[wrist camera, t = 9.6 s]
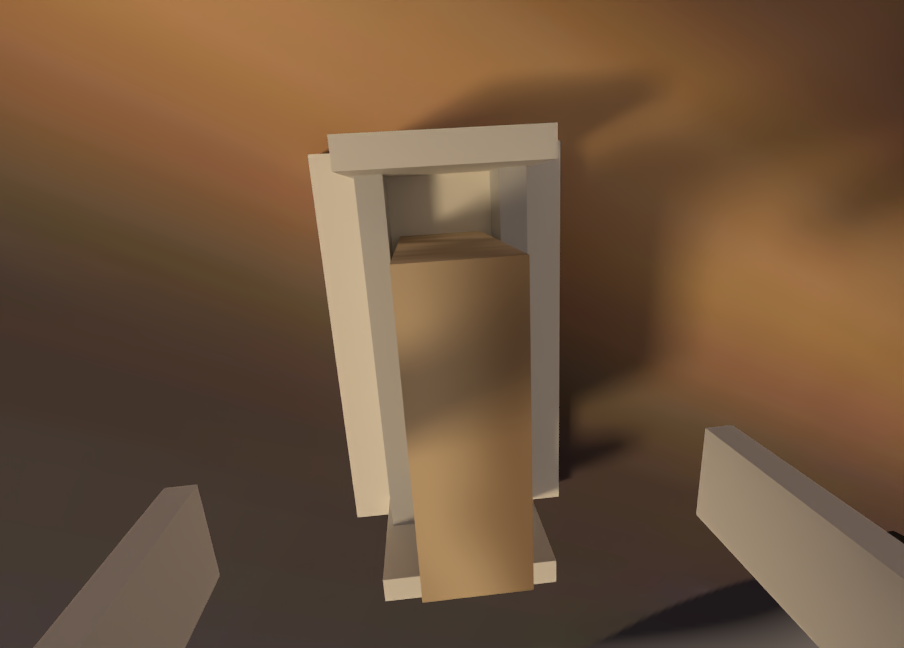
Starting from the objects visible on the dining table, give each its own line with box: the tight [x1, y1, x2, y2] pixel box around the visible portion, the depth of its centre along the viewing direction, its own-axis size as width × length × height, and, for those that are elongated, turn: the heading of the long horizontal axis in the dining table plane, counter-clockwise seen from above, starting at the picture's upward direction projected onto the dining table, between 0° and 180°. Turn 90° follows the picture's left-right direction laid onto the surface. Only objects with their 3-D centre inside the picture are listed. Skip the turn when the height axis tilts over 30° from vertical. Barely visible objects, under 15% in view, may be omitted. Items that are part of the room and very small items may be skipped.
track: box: [308, 122, 561, 601], centre depth 22 cm, size 12×20×7 cm, turn 3°
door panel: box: [390, 231, 534, 603], centre depth 19 cm, size 4×12×10 cm, turn 3°
